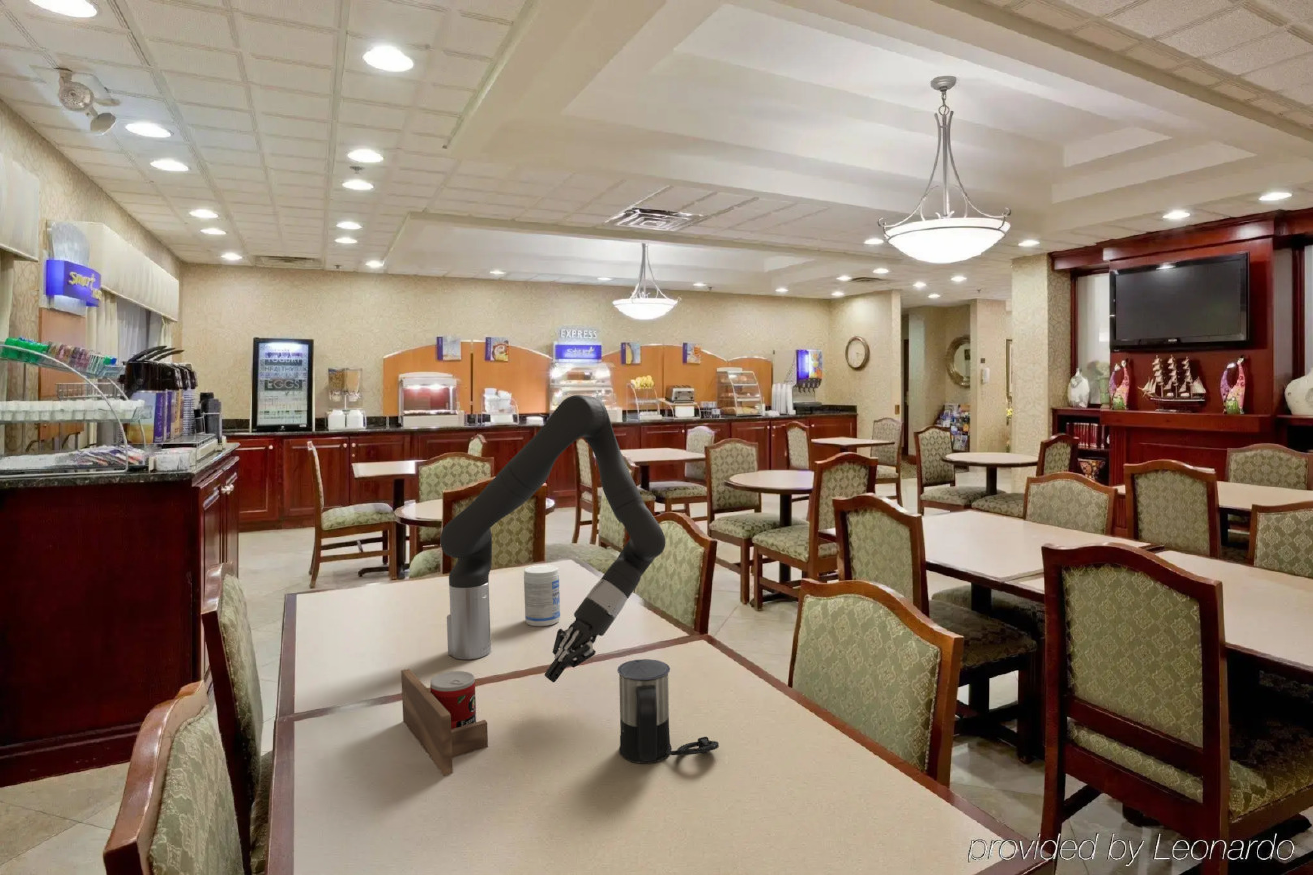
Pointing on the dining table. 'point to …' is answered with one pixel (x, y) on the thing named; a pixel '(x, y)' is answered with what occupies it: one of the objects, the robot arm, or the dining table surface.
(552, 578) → the supplement tub
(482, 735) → the walnut stop
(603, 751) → the dining table surface
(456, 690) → the canned food
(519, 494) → the robot arm
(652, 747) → the milk frother
